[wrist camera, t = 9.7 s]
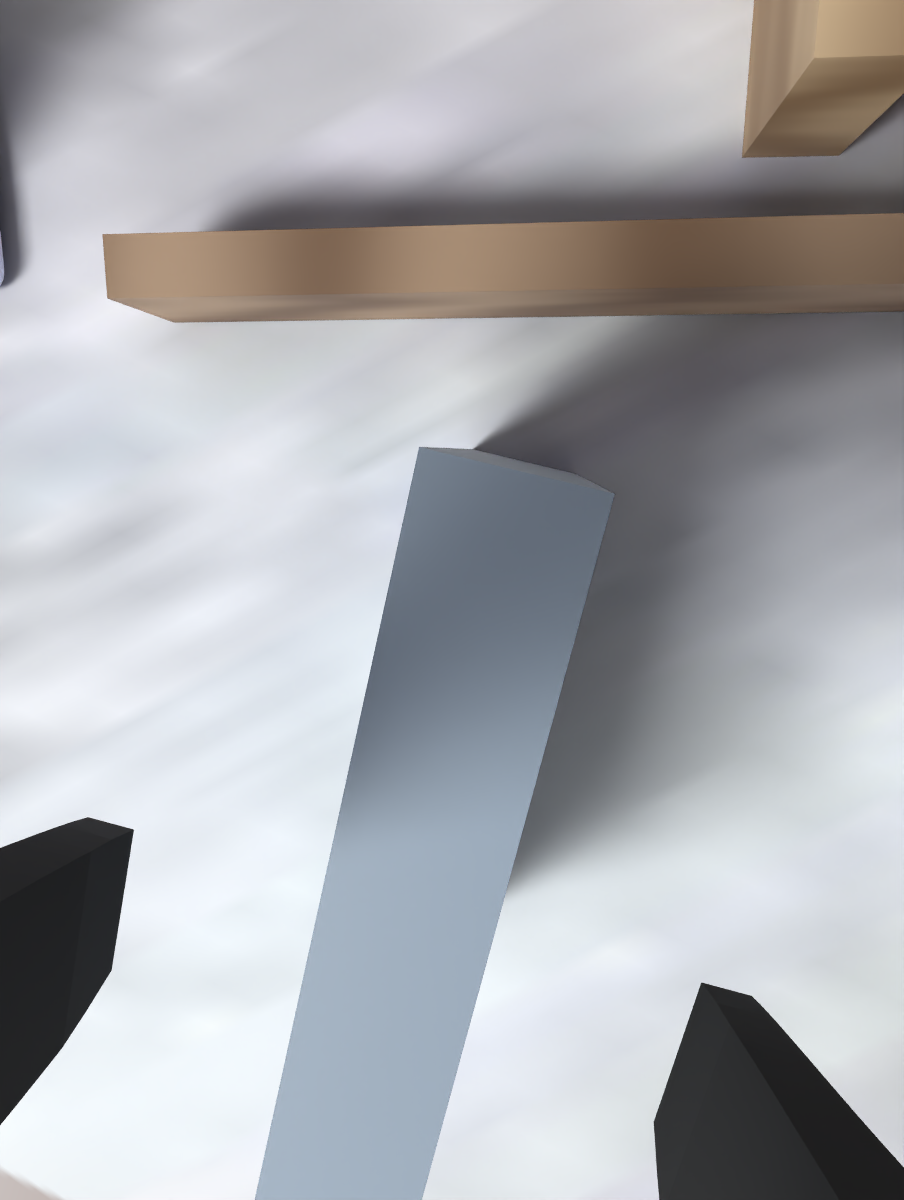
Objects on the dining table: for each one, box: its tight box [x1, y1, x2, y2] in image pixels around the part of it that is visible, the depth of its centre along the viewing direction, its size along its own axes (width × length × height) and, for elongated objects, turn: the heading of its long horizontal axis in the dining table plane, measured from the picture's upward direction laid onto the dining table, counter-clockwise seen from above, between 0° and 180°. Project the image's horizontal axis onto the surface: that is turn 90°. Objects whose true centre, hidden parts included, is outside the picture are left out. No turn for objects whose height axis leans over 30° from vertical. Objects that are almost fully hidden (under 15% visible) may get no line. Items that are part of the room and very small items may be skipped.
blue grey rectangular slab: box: [255, 447, 615, 1200], centre depth 15 cm, size 2×12×9 cm, turn 167°
